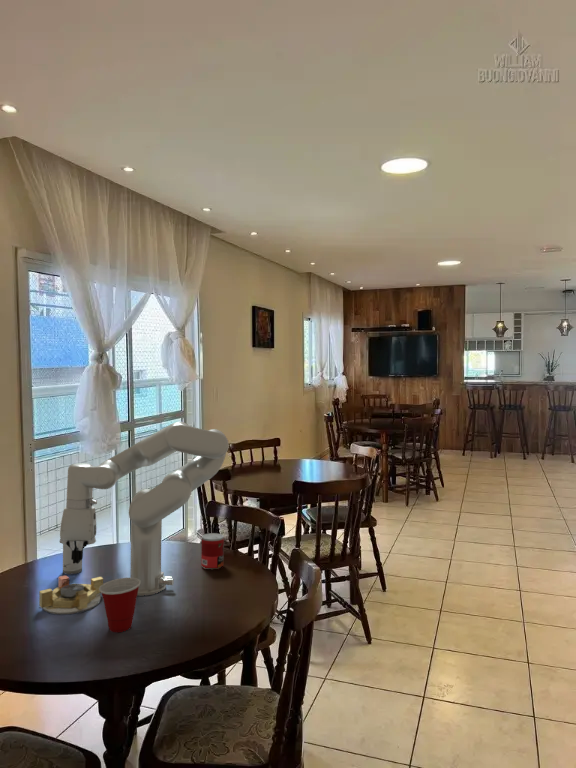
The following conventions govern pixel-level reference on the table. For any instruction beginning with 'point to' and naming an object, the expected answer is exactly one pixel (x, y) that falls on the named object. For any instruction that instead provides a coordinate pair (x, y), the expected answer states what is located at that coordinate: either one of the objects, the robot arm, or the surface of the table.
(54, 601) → the locking ring
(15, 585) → the table surface
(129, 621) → the plastic cup
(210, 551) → the canned food
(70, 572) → the travel mug
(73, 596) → the flange
